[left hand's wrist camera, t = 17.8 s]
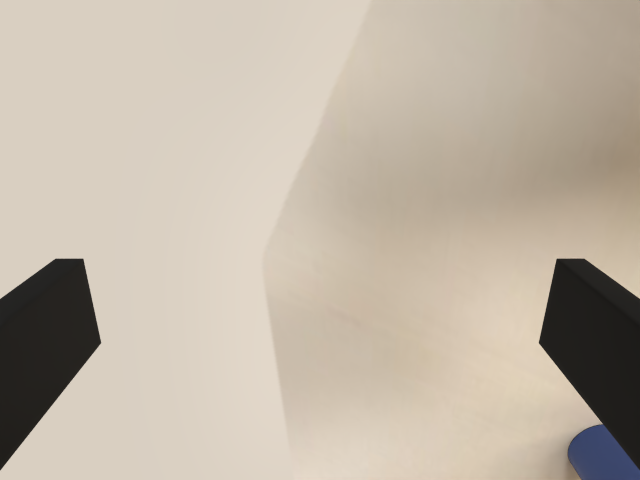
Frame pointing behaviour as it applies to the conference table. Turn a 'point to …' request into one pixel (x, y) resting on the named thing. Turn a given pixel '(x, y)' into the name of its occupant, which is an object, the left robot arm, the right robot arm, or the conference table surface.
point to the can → (600, 456)
